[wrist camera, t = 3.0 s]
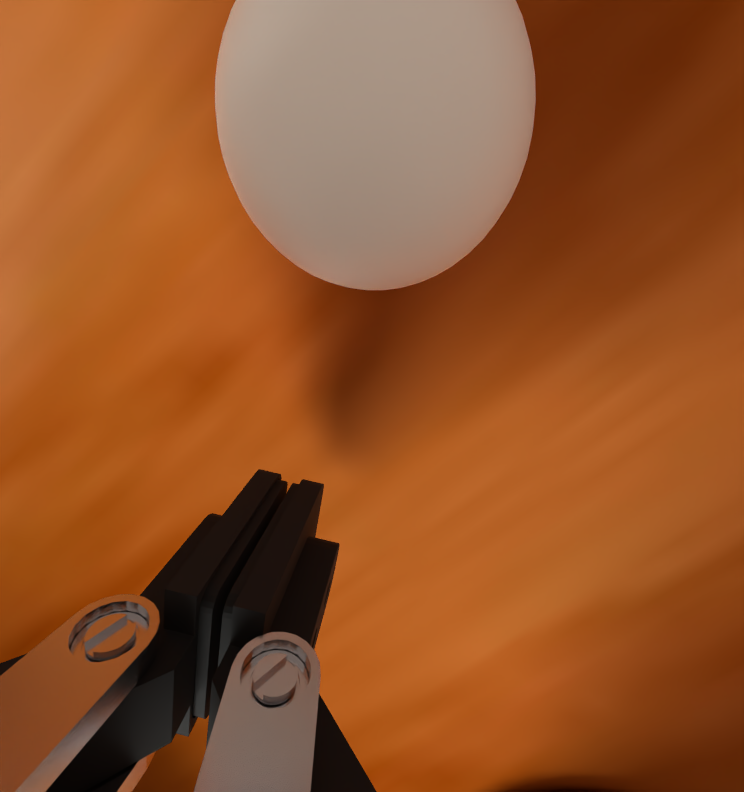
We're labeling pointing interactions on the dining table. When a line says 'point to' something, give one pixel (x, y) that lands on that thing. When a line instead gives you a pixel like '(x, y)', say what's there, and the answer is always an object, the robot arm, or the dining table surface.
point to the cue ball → (375, 129)
